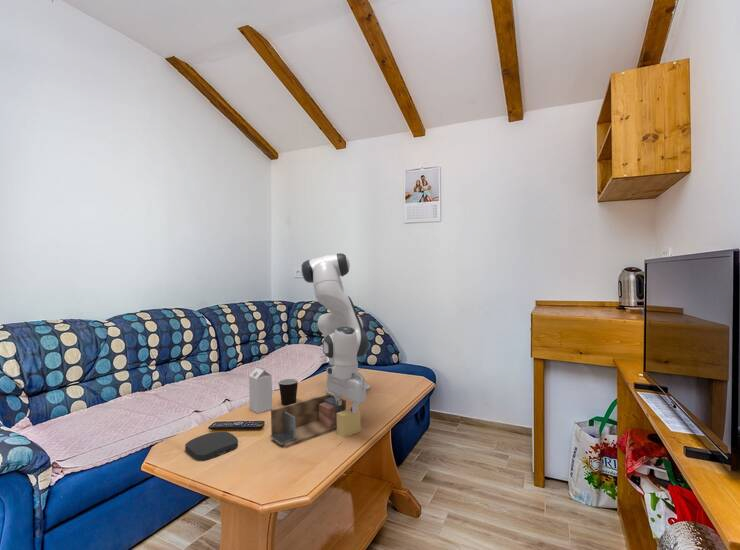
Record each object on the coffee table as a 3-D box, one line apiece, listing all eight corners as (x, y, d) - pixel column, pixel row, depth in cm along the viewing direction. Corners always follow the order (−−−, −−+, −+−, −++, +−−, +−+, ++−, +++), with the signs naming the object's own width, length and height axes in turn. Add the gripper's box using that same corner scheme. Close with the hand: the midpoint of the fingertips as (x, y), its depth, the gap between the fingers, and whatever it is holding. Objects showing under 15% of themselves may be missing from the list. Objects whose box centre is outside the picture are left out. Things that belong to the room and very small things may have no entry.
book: (336, 434, 138) (336, 413, 138) (353, 428, 143) (353, 407, 143) (343, 438, 135) (343, 416, 135) (360, 431, 140) (360, 410, 140)
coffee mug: (291, 407, 165) (291, 385, 165) (275, 405, 168) (274, 383, 168) (305, 398, 176) (304, 377, 176) (289, 397, 179) (289, 376, 179)
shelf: (330, 417, 153) (329, 393, 153) (346, 425, 145) (345, 400, 145) (271, 437, 136) (270, 410, 136) (286, 447, 128) (285, 418, 128)
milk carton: (264, 405, 169) (263, 363, 169) (272, 409, 164) (271, 366, 163) (249, 409, 164) (248, 366, 164) (257, 413, 159) (256, 369, 158)
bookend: (284, 432, 138) (284, 410, 138) (295, 439, 132) (295, 417, 132) (270, 437, 134) (269, 415, 134) (280, 444, 128) (280, 421, 128)
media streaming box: (181, 450, 128) (181, 441, 128) (222, 435, 139) (222, 427, 139) (199, 464, 119) (199, 455, 118) (242, 447, 129) (242, 439, 129)
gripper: (370, 375, 132) (370, 414, 132) (337, 365, 148) (337, 399, 148) (356, 378, 128) (356, 418, 128) (323, 367, 144) (324, 403, 144)
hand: (346, 408), depth 138 cm, fingers open, 8 cm apart
